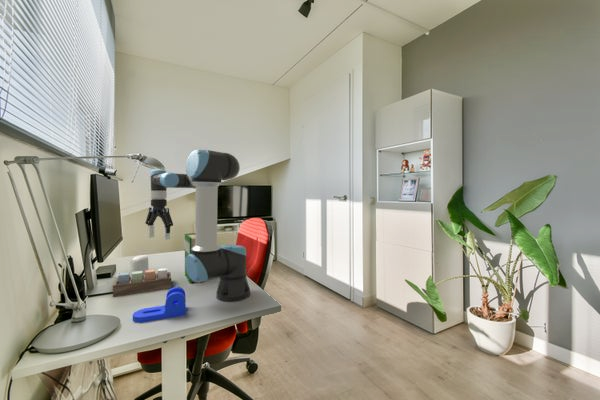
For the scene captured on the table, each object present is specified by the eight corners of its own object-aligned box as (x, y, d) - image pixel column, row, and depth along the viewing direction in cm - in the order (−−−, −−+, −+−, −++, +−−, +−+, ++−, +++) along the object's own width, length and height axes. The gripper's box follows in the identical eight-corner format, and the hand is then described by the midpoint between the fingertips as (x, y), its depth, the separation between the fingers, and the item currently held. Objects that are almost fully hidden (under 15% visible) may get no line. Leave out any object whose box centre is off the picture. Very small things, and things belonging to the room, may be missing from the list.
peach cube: (155, 279, 132) (154, 271, 132) (145, 280, 130) (145, 272, 130) (155, 277, 136) (155, 269, 136) (145, 278, 134) (145, 270, 134)
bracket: (185, 307, 110) (185, 285, 110) (185, 315, 102) (185, 292, 102) (134, 315, 103) (134, 292, 103) (130, 324, 95) (130, 299, 95)
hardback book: (204, 281, 143) (204, 236, 143) (189, 283, 139) (189, 237, 139) (198, 273, 158) (198, 232, 158) (184, 275, 154) (184, 233, 154)
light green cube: (142, 281, 130) (142, 272, 130) (132, 282, 128) (132, 274, 128) (142, 278, 134) (142, 270, 134) (132, 279, 132) (132, 271, 132)
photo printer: (136, 280, 144) (136, 258, 144) (129, 280, 144) (129, 257, 144) (149, 275, 154) (149, 253, 154) (143, 274, 155) (142, 253, 154)
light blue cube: (128, 282, 127) (128, 274, 127) (118, 284, 125) (118, 275, 125) (129, 280, 131) (129, 272, 131) (119, 281, 129) (119, 273, 129)
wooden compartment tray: (171, 288, 132) (171, 278, 132) (112, 296, 121) (112, 285, 121) (170, 281, 143) (170, 271, 143) (116, 288, 132) (116, 278, 132)
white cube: (167, 277, 135) (167, 269, 135) (158, 279, 133) (157, 271, 133) (167, 275, 139) (167, 267, 139) (158, 276, 137) (158, 269, 137)
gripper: (180, 199, 140) (180, 239, 140) (151, 198, 152) (151, 235, 152) (167, 199, 133) (167, 241, 134) (138, 198, 145) (138, 237, 146)
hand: (159, 238), depth 143 cm, fingers open, 13 cm apart
